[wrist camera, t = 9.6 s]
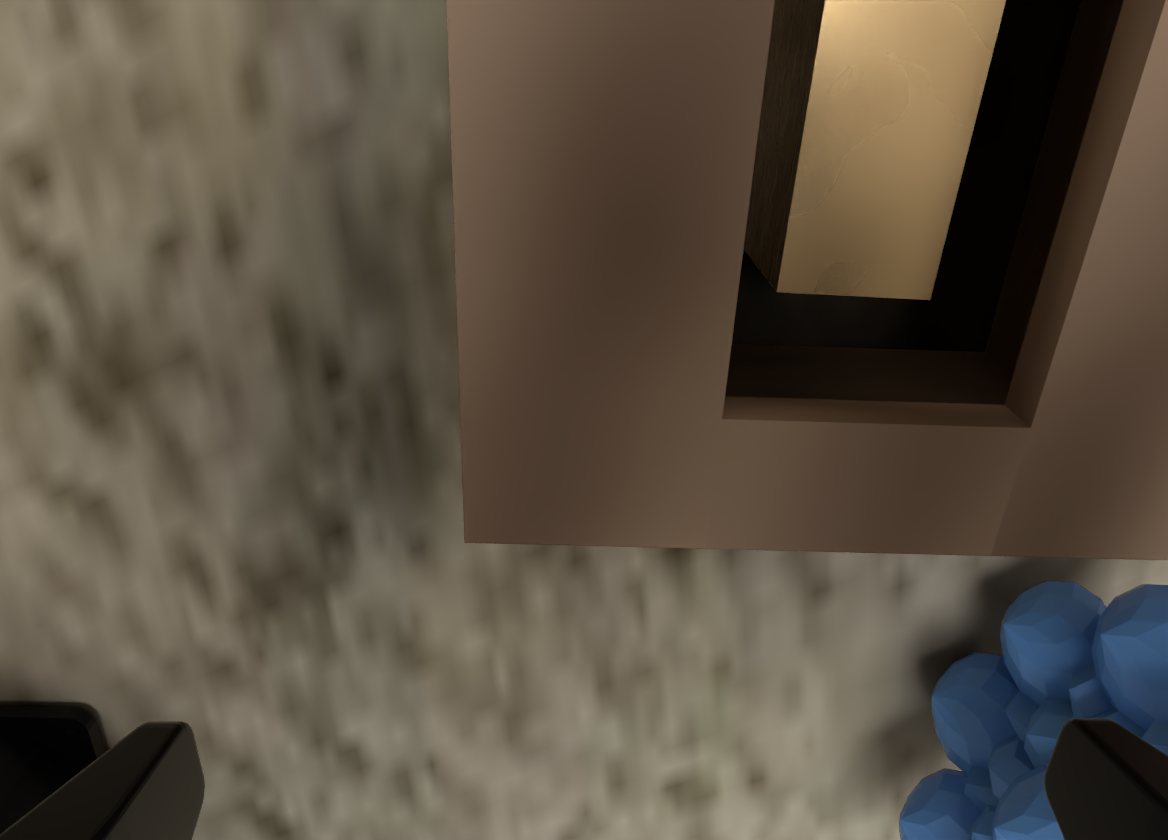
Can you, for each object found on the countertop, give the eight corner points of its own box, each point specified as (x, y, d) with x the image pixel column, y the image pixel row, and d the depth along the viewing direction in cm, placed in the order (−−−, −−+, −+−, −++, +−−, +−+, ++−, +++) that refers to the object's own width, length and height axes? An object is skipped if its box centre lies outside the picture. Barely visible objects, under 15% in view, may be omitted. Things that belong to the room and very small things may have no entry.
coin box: (501, 369, 19) (464, 542, 12) (496, -295, 13) (426, -575, 7) (1009, 384, 19) (1223, 561, 13) (1198, -259, 14) (1724, -499, 7)
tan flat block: (723, 223, 17) (776, 291, 13) (758, -43, 15) (836, -72, 11) (838, 229, 17) (930, 300, 13) (889, -34, 15) (1021, -59, 11)
